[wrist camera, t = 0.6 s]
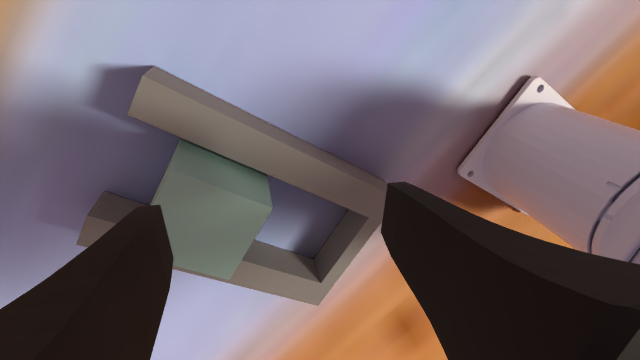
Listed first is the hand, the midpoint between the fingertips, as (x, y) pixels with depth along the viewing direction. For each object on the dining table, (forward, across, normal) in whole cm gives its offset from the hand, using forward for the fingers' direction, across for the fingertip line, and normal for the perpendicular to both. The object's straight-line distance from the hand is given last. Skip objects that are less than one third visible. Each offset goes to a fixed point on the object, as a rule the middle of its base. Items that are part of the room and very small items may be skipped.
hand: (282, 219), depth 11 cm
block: (+10, +3, +4) cm, 11 cm away
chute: (+10, +2, +5) cm, 11 cm away
